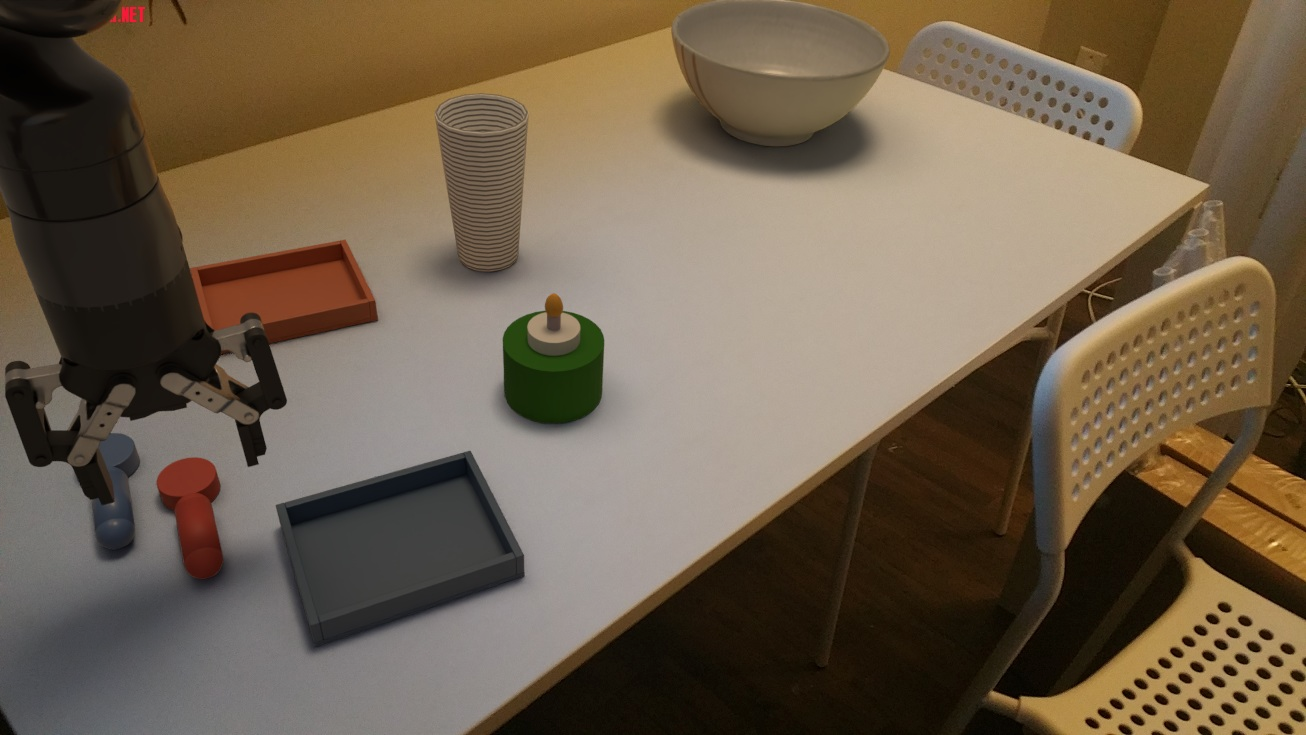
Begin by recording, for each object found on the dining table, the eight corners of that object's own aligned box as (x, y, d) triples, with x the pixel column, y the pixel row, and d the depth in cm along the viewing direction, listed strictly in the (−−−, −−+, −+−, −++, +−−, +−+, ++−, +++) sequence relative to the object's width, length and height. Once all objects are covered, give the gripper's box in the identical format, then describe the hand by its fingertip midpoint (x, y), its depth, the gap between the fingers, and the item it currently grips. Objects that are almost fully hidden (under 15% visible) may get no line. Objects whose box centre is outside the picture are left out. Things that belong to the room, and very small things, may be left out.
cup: (545, 267, 99) (544, 122, 89) (465, 288, 95) (455, 139, 85) (509, 227, 104) (505, 87, 94) (432, 245, 100) (420, 101, 91)
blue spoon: (153, 546, 68) (144, 522, 67) (89, 564, 66) (78, 541, 65) (137, 442, 76) (129, 419, 74) (79, 456, 74) (69, 433, 73)
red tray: (212, 356, 84) (207, 335, 83) (195, 287, 92) (189, 267, 91) (378, 320, 90) (375, 300, 89) (348, 258, 98) (345, 239, 96)
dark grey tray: (315, 647, 63) (309, 625, 61) (280, 525, 70) (275, 504, 69) (524, 575, 68) (524, 554, 67) (471, 470, 76) (470, 449, 74)
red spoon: (241, 575, 67) (234, 552, 65) (177, 595, 65) (169, 571, 64) (216, 466, 74) (209, 443, 73) (158, 481, 73) (150, 458, 71)
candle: (541, 349, 88) (541, 254, 82) (620, 383, 85) (626, 287, 79) (484, 399, 82) (479, 300, 76) (566, 437, 79) (567, 338, 73)
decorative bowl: (624, 131, 124) (629, 36, 116) (725, 68, 142) (735, -17, 135) (818, 196, 114) (837, 97, 106) (900, 120, 132) (921, 31, 125)
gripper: (-49, 331, 48) (59, 552, 58) (259, 271, 53) (308, 483, 63) (-43, 253, 53) (54, 469, 63) (237, 205, 58) (285, 411, 68)
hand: (181, 475), depth 63 cm, fingers open, 8 cm apart
